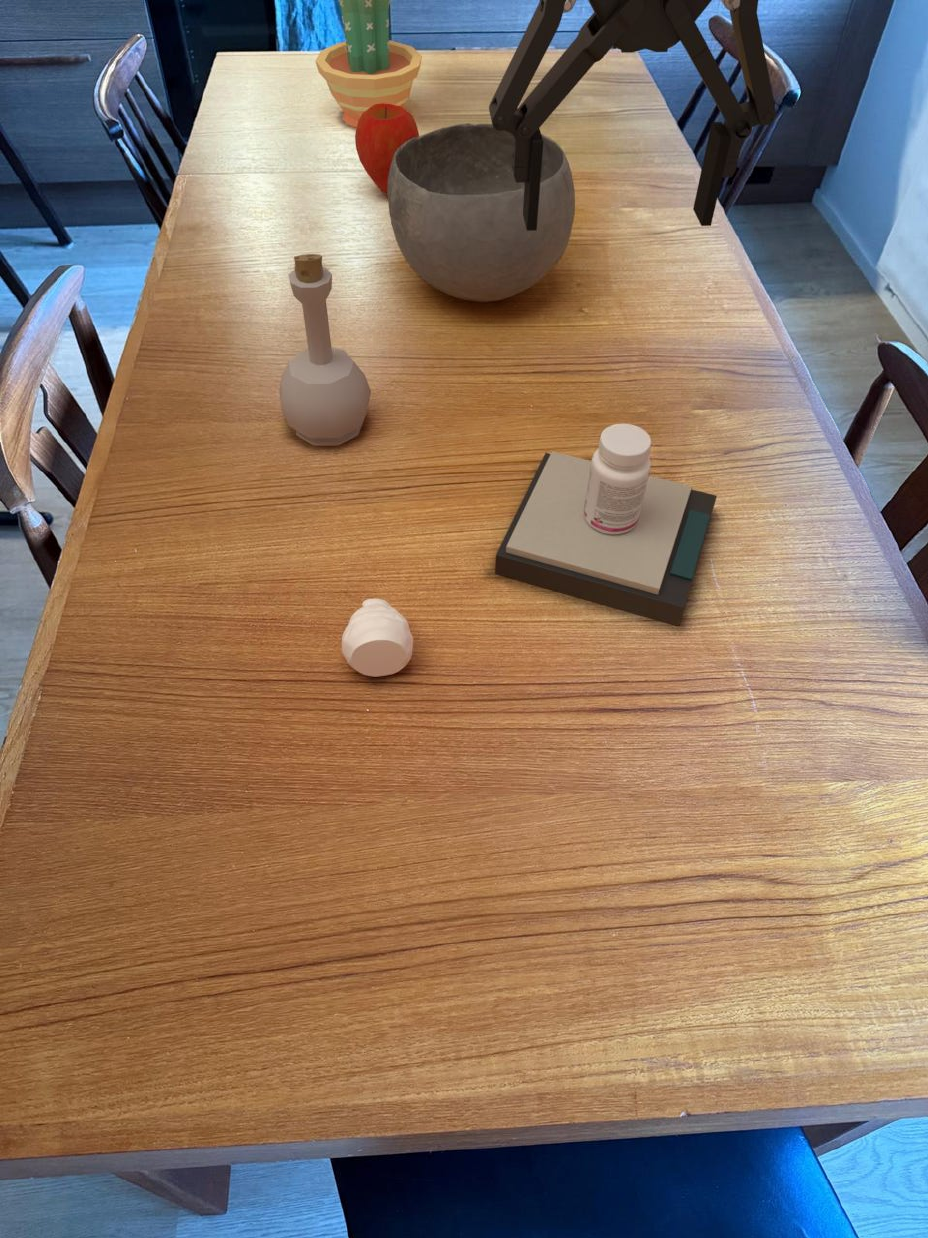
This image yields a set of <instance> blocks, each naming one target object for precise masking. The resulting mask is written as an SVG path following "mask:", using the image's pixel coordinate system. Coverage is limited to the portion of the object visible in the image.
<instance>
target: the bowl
mask: <svg viewBox="0 0 928 1238" xmlns="http://www.w3.org/2000/svg"><path fill="white" fill-rule="evenodd" d="M541 135H542V138H543V155H542V168H541V180H540V193H539V206H538V219H537V230H535V231H527V229H526V225H525V221H524V217H523V202H524V186H525V182H522V183H516V181H515V178H514V175H513V171H512V151H513V135H512V134H511V133H510V132H507V131H505V130H503V131H498V130H496V129H495V128H494V127H493V125H492V123H478V124H473V123H467V122H466V123H460V124H459V123H458V124H454V125H450V126H449V125H448V126H445V127H440V128H438V129H436V130H435V129H434V130H432V131H430V132H427V133H424V134H422V135H419V137H414V138H412V139H410V140H408V141H406V142H405V143H404V145H401V147H400V148H398V149H397V151H396V152H395V154H394V157H393V160H392V163H391V167H390V171H389V177H388V192H387V194H386V196H387V204H388V213H389V217H390V223H391V227H392V231H393V234H394V238H395V240H396V243H397V245H398V248H399V250H400V252H401V254H402V256H403V258H404V259H405V262H407V264H408V265H409V266H410V268H411V269H412V270H413V271H414V272H415V273H416V274H417V275H418V276H419V277H420V279H422V280H423V281H425V282H426V283H427V284H428V285H430V286H431V287H433V288H434V289H435V290H437V291H439V292H441V293H443V294H446V295H448V296H451V297H453V298H455V299H456V298H457V299H459V300H465V301H471V302H477V303H488V302H495V301H496V302H497V301H500V300H505V299H509V298H510V297H513V296H515V295H517V294H520V293H522V292H524V291H526V290H528V289H530V288H531V287H532V286H534V285H535V284H538V283H539V282H540V281H541V280H542V279H543V278H544V277H545V276H546V275H547V274H548V273H550V271H551V270H552V268H554V266H556V265H557V264H558V263H559V261H561V259H562V258H563V255H564V254H565V252H566V250H567V247H568V244H569V242H570V238H571V234H572V230H573V225H574V220H575V214H576V189H575V185H574V184H575V183H574V179H573V178H574V177H573V172H572V170H571V166H570V162H569V160H568V158H567V156H566V153H565V151H564V150H563V148H562V147H561V146H560V144H558V143H557V142H556V141H555V140H553V139H552V138H551V137H548V136H546V135H545V134H543V133H541Z"/></svg>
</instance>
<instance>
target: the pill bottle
mask: <svg viewBox="0 0 928 1238" xmlns="http://www.w3.org/2000/svg"><path fill="white" fill-rule="evenodd" d="M651 445H652V440H651V437H650V435H649V433H648V432H647V431H646V430H645V429H643V428H642V427H640V426H637V425H635V424H631V423H615V424H612V425H609V426H607V427H606V428H604V429H603V431H602V432H601V433H600V437H599V442H598V448H597V449H596V450H595V451H594V453H593V455H592V458H591V460H590V461H591V467H590V473H589V480H588V486H587V492H586V498H585V504H584V517H585V519H586V521H587V523H588V524H589V525H590V526H591V527H592V528H594V529H595V530H597V531H599V532H602V533H605V534H622V533H625V532H628V531H630V530H632V529H633V528H634V527H635V526H636V525H637V523H638V520H639V517H640V512H641V508H642V503H643V499H644V494H645V490H646V486H647V481H648V477H649V476H650V474H651V473H650V472H651V465H652V463H651V459H650V452H651V447H652V446H651Z"/></svg>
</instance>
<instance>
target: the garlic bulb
mask: <svg viewBox="0 0 928 1238" xmlns="http://www.w3.org/2000/svg"><path fill="white" fill-rule="evenodd" d="M409 625H410V624H409V622H408V620H407V618H406V617H405V616H404V615H403V614H401V612H399V611H398V610H397V608H395V607H393V606H392V605H391V604H390V603H389V602H388V601H387V600H385V599H382V598H377V597H376V598H375V597H374V598H368V599H365V600H363V602H362V603H361V607H360V608H358V609H357V610H355V611H354V613H353V614H352V615H351V617H350V619H349V621H348V624H347V626H346V627H345V629H344V631H343V633H342V636H341V653H342V655H343V657H344V658H345V660H346V663H347V664H348V665H349V666H350V667H351V668H352V669H354V670H355V671H356V672H357V673H359V674H361V675H364V676H368V677H374V678H375V677H376V678H377V677H384V676H389V675H394V674H396V673H398V672H400V671H401V670H403V669H404V668H405V667H406V666H407V665H408V663H409V662H410V661H411V658H412V656H413V649H414V637H413V635H412V632H411V629H410V626H409Z"/></svg>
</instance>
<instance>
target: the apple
mask: <svg viewBox="0 0 928 1238" xmlns="http://www.w3.org/2000/svg"><path fill="white" fill-rule="evenodd" d="M355 128H356V127H355ZM419 136H420V133H419V129H418V126H417V123H416V120H415V119H414V117H413V115H412V114H411V112H410V111H409V110H407V109H406V108H404V106H403V107H400V106H397V105H392V104H383V103H381V104H375V105H373V106H372V107H370V108H369V109H367V110H366V111H365V112H363V113H362V115H361V117H360V119H359V120H358V124H357V128H356V129H355V132H354V141H355V142H354V143H355V150H356V153H357V156H358V159H359V162H360V164H361V165H362V167H363V169H364V171H365V172H366V174H367V175H368V177H369V178H370V179H371V180H372V182H373V183H374V184H375V185H376V187H377V188H378V189H379V190H380V191H381V192H382V193H383V194H385V195H387V192H388V177H389V171H390V167H391V163H392V160H393V157H394V154H395V152H396V151H397V149H398V148H400V147H401V145H404V143H405V142H406V141H408V140H410V139H412V138H414V137H419Z"/></svg>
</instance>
